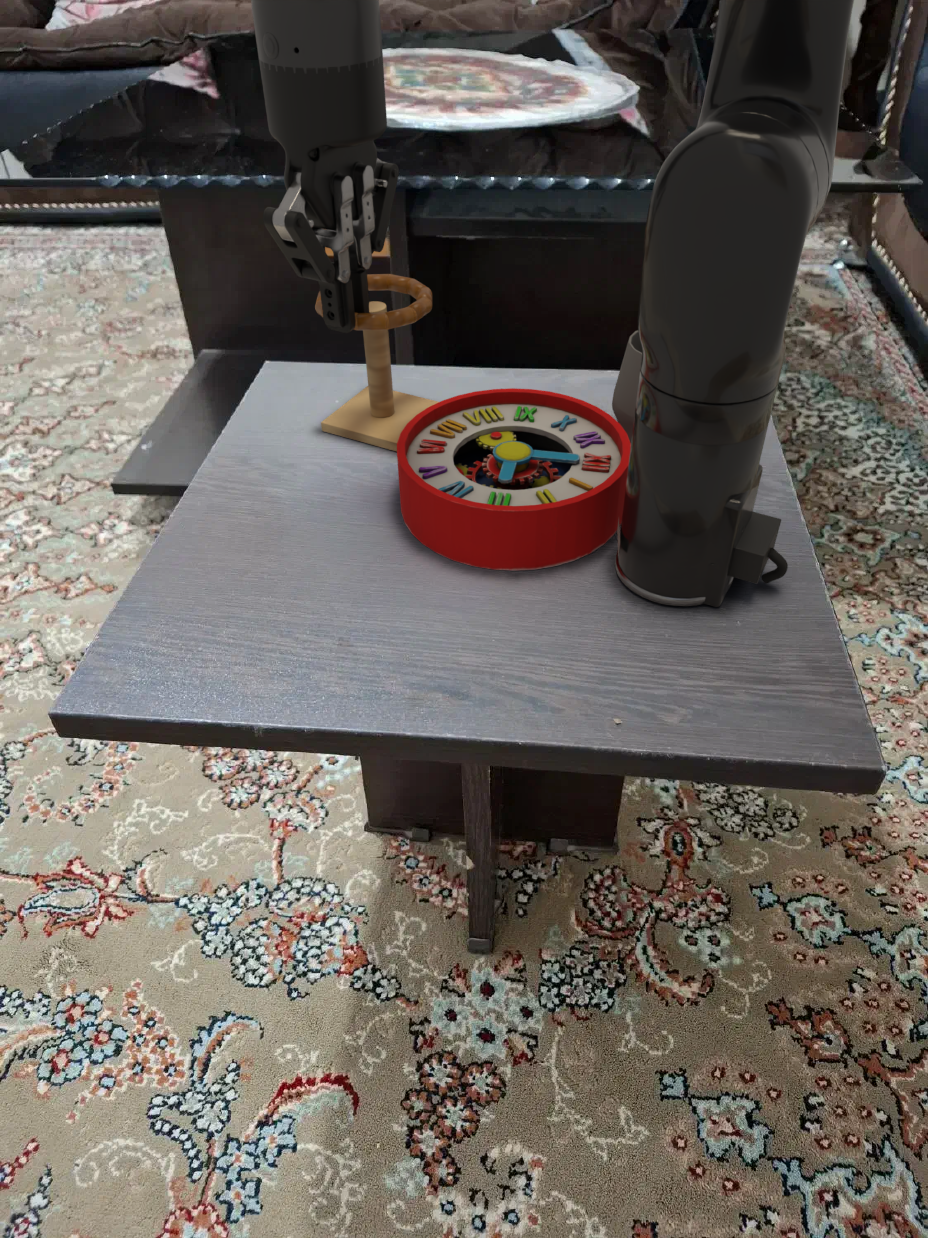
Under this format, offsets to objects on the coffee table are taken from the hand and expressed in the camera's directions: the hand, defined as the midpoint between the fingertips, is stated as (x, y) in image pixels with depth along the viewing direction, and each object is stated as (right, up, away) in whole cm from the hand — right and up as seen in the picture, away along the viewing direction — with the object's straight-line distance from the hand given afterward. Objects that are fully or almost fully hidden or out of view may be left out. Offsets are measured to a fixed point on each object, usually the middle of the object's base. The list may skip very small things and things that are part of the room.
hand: (348, 323), depth 66 cm
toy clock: (+13, -11, +15) cm, 22 cm away
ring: (+2, +2, +2) cm, 4 cm away
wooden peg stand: (0, -1, +26) cm, 26 cm away
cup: (+27, -4, +22) cm, 35 cm away
